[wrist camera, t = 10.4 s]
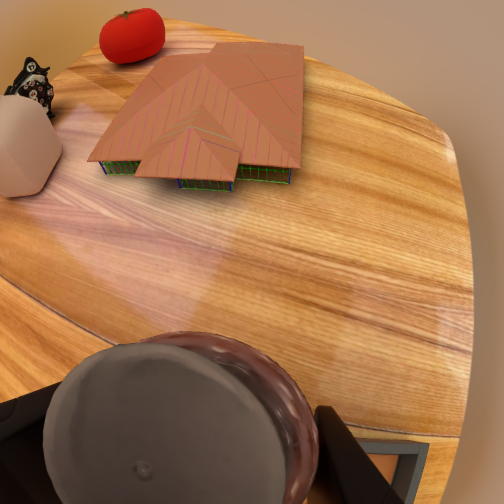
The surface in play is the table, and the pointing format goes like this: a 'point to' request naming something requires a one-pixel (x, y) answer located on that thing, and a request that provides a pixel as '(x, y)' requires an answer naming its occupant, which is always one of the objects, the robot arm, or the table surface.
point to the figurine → (33, 85)
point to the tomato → (132, 36)
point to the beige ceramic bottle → (25, 146)
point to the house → (212, 115)
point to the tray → (397, 463)
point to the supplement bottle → (180, 426)
